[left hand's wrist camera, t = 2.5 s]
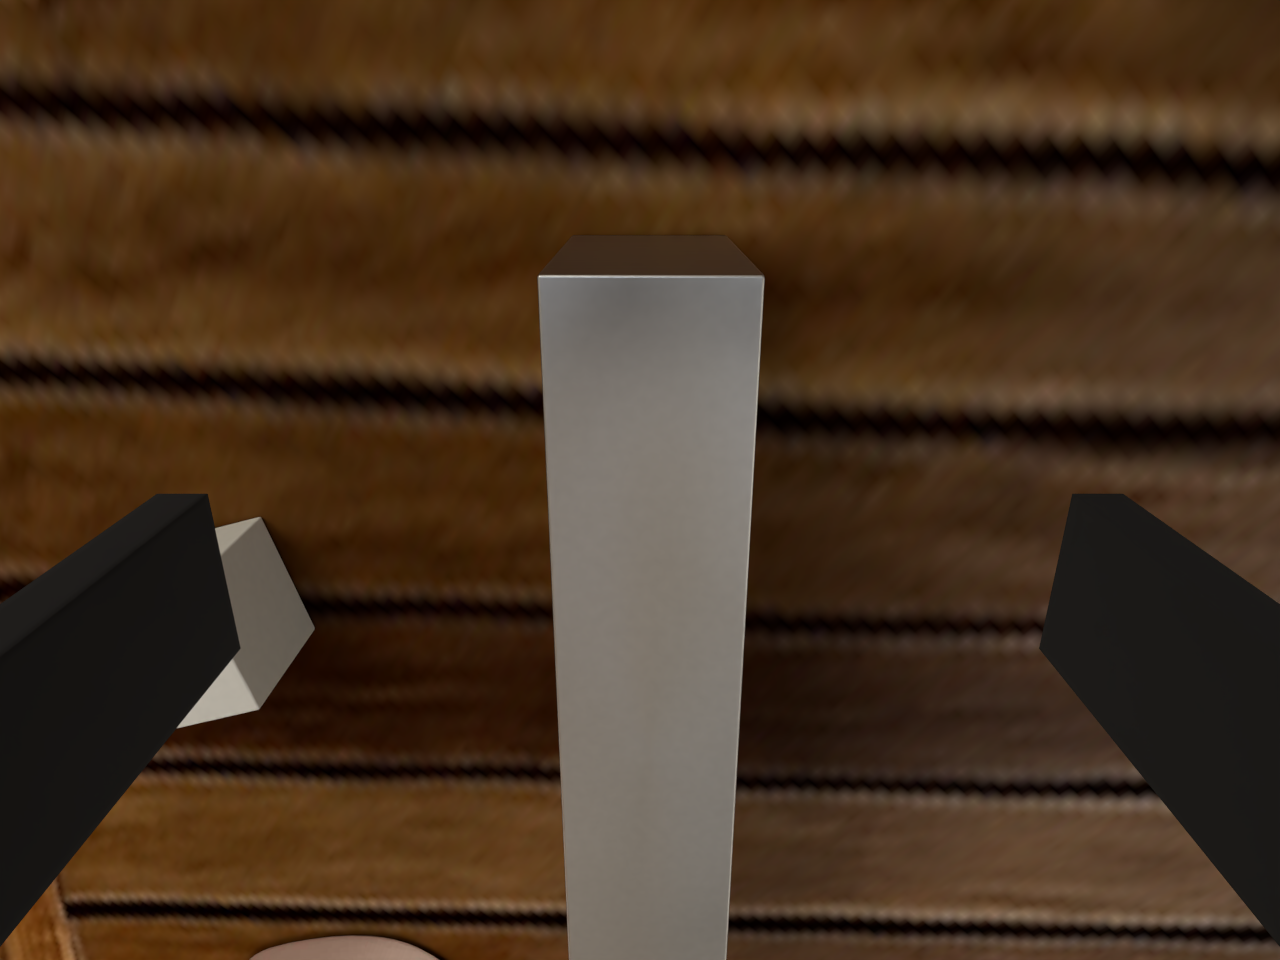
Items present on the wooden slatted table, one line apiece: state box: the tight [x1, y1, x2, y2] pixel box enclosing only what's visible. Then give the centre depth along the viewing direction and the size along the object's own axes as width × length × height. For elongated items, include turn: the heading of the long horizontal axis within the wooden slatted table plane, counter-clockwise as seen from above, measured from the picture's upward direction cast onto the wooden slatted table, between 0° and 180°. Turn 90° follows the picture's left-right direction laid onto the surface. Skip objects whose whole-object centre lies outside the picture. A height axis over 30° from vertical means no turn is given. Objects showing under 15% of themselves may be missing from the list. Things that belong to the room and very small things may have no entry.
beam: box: [537, 235, 765, 960], centre depth 27 cm, size 5×26×9 cm, turn 0°
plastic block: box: [177, 517, 315, 728], centre depth 29 cm, size 5×5×5 cm
